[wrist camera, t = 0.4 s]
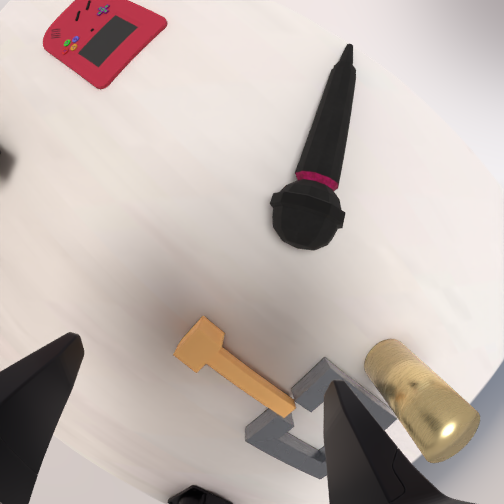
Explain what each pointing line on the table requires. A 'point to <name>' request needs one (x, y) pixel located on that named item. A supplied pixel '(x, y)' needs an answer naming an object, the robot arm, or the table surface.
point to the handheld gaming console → (101, 37)
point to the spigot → (421, 401)
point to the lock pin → (229, 366)
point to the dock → (310, 397)
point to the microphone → (319, 167)
